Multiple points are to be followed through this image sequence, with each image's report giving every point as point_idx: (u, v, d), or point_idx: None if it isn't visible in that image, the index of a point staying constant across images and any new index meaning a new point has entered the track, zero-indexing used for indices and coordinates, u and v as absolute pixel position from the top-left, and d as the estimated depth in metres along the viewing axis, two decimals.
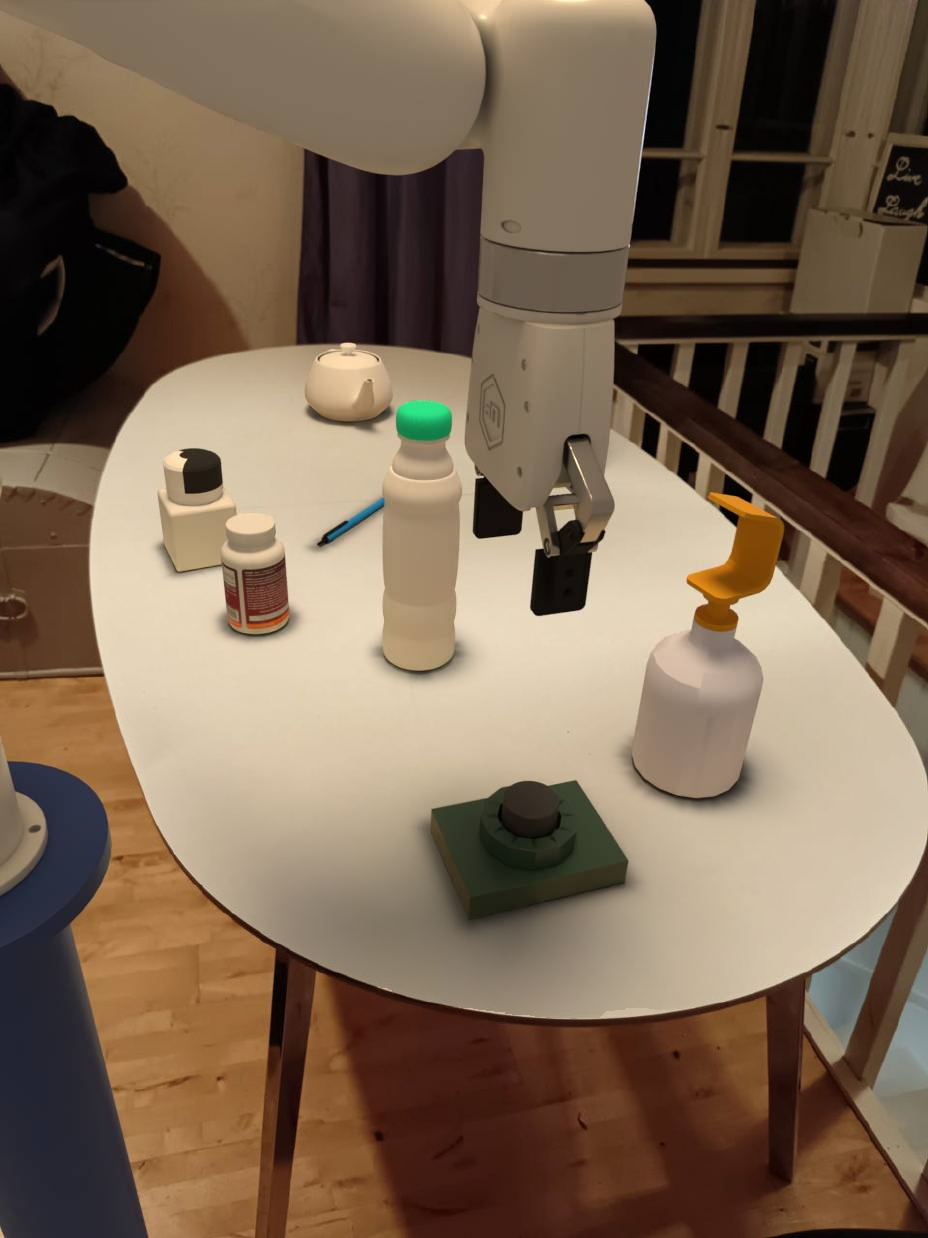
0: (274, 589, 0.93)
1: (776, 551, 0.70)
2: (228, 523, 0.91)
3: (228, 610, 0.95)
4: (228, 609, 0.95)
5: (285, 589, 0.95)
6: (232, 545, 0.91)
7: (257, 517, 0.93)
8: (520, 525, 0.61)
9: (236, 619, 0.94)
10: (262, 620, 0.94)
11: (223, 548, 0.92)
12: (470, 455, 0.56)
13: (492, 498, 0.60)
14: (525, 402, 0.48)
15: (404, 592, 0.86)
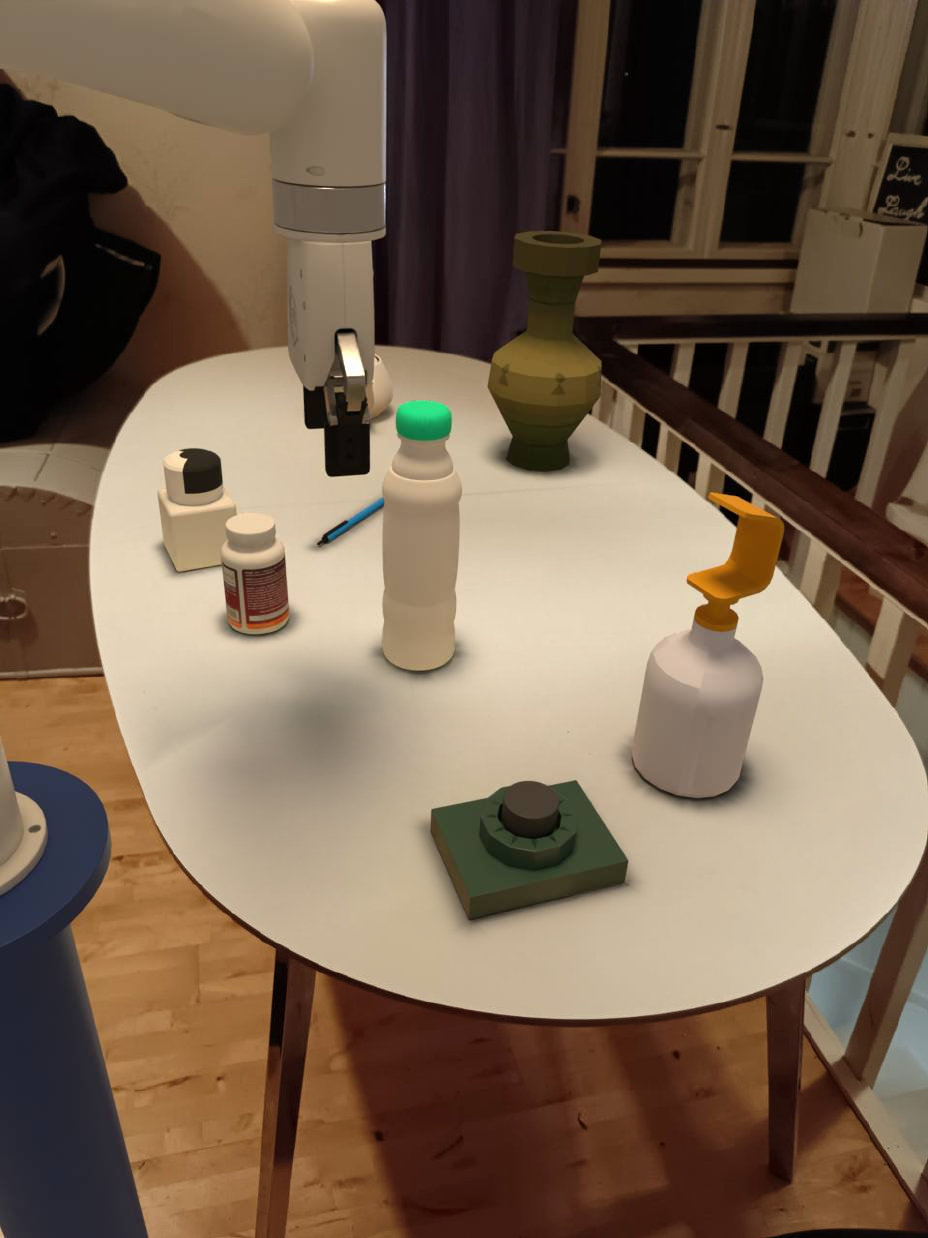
0: (274, 589, 0.93)
1: (776, 551, 0.70)
2: (228, 523, 0.91)
3: (228, 610, 0.95)
4: (228, 609, 0.95)
5: (285, 589, 0.95)
6: (232, 545, 0.91)
7: (257, 517, 0.93)
8: None
9: (236, 619, 0.94)
10: (262, 620, 0.94)
11: (223, 548, 0.92)
12: (289, 355, 0.72)
13: (316, 395, 0.75)
14: (303, 302, 0.63)
15: (404, 592, 0.86)
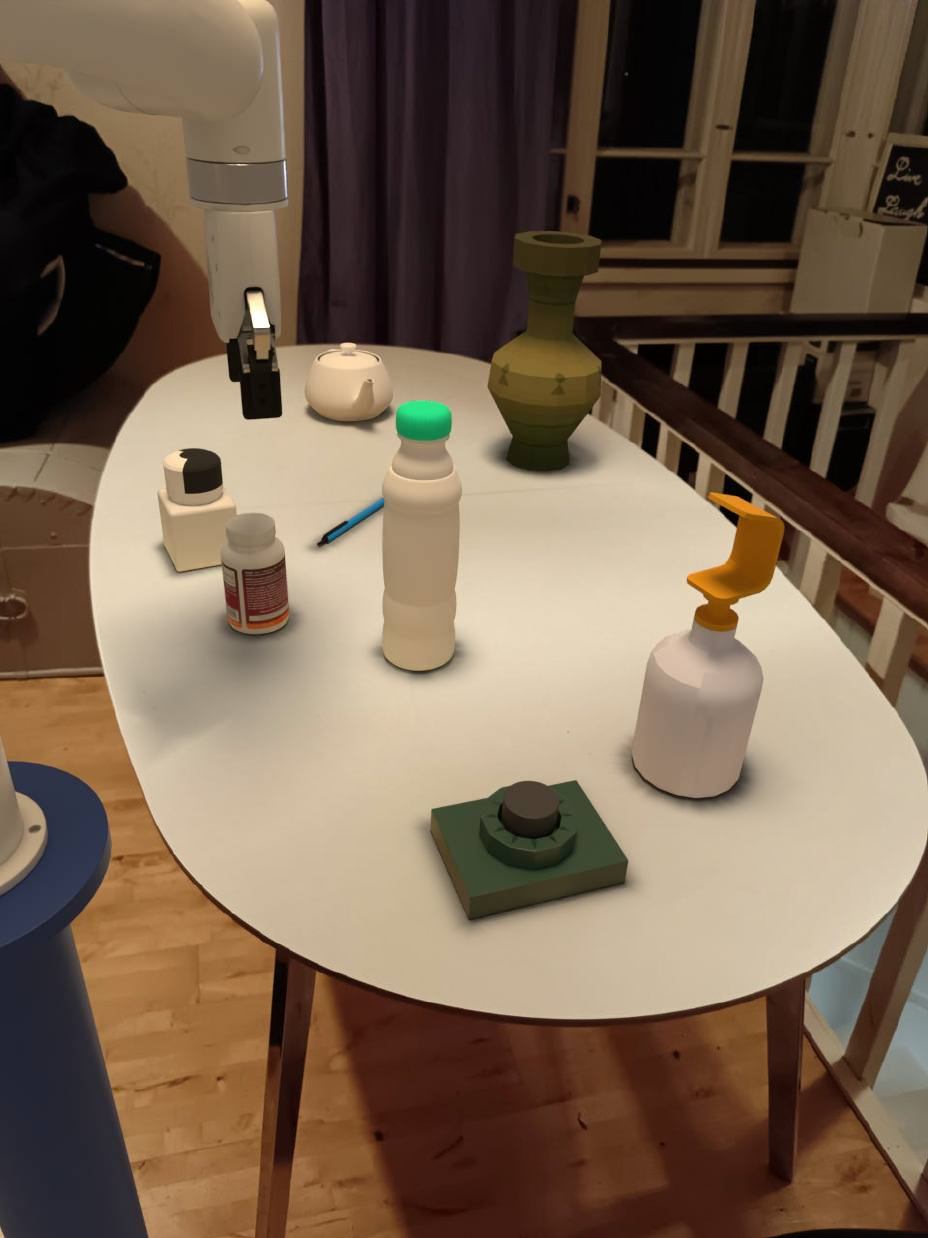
0: (274, 589, 0.93)
1: (776, 551, 0.70)
2: (228, 523, 0.91)
3: (228, 610, 0.95)
4: (228, 609, 0.95)
5: (285, 589, 0.95)
6: (231, 545, 0.91)
7: (256, 517, 0.93)
8: None
9: (236, 619, 0.94)
10: (262, 620, 0.94)
11: (223, 548, 0.92)
12: (211, 315, 0.81)
13: (238, 351, 0.85)
14: (216, 264, 0.73)
15: (404, 592, 0.86)
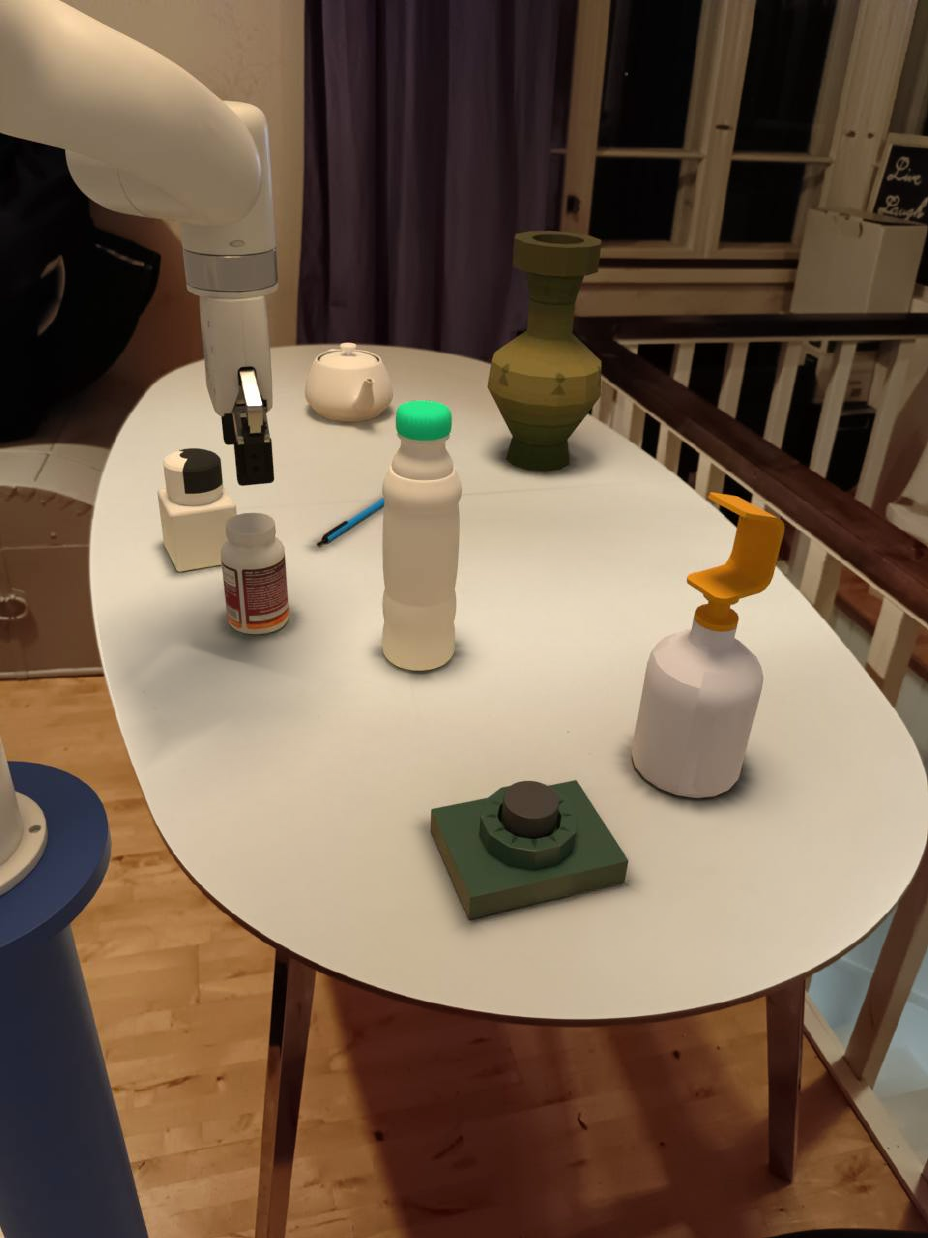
0: (274, 589, 0.93)
1: (776, 551, 0.70)
2: (228, 523, 0.91)
3: (228, 610, 0.95)
4: (228, 609, 0.95)
5: (285, 589, 0.95)
6: (232, 545, 0.91)
7: (257, 517, 0.93)
8: None
9: (236, 619, 0.94)
10: (262, 620, 0.94)
11: (223, 548, 0.92)
12: (206, 385, 0.87)
13: (232, 416, 0.90)
14: (211, 346, 0.78)
15: (404, 592, 0.86)
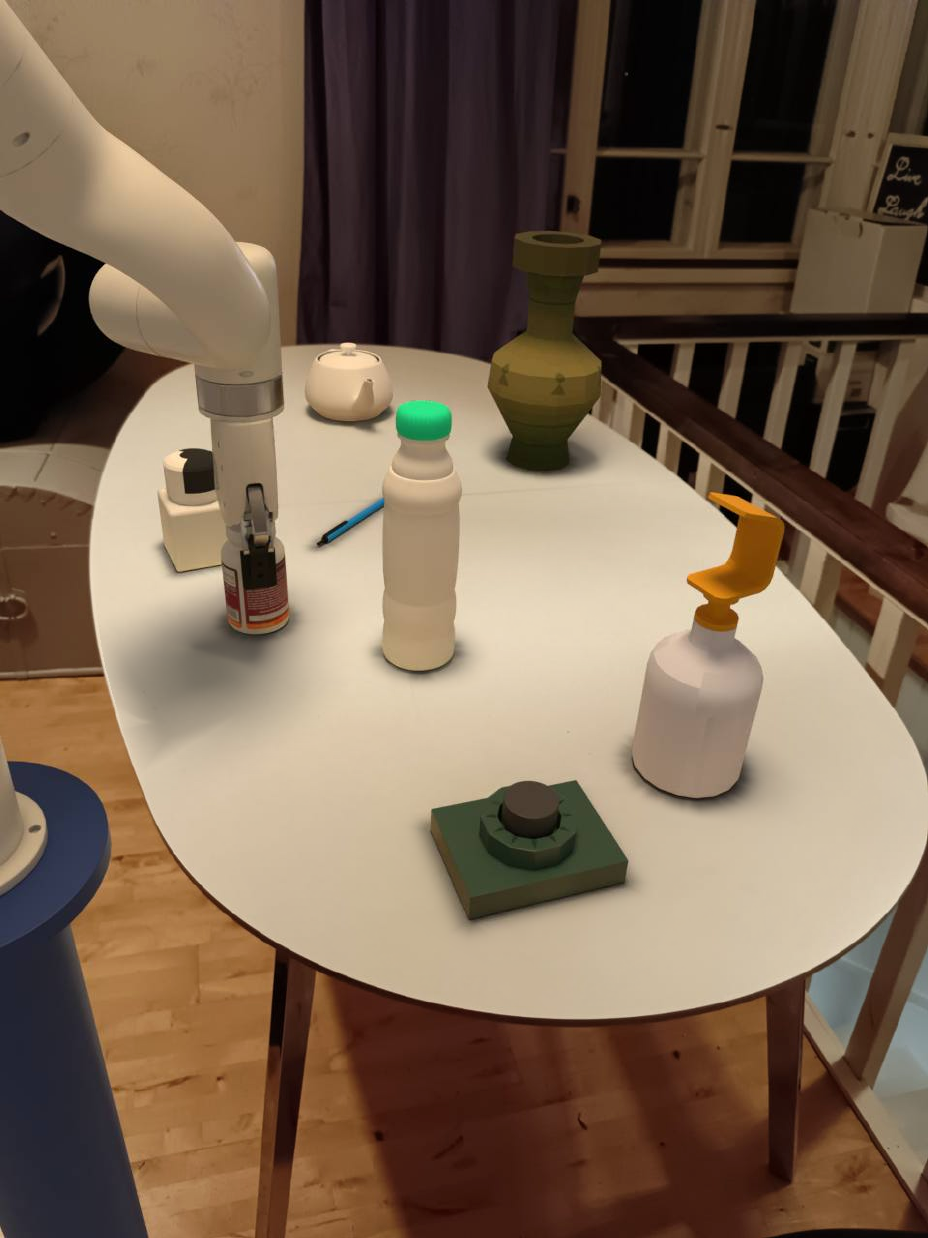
0: (274, 589, 0.93)
1: (776, 551, 0.70)
2: None
3: (228, 610, 0.95)
4: (228, 609, 0.95)
5: (285, 589, 0.95)
6: (232, 545, 0.91)
7: None
8: None
9: (236, 619, 0.94)
10: (262, 620, 0.94)
11: (223, 548, 0.92)
12: None
13: None
14: (221, 465, 0.84)
15: (404, 592, 0.86)
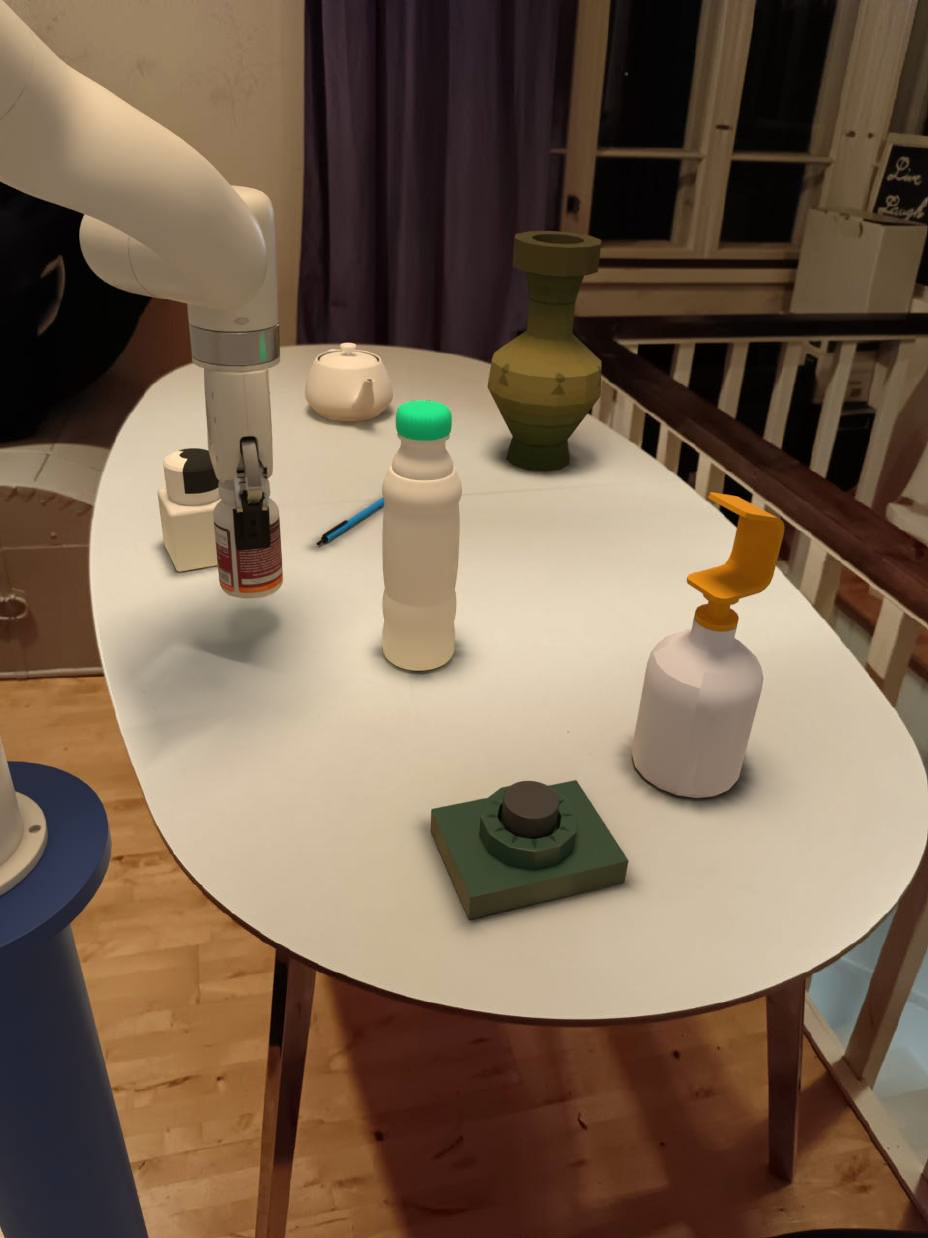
0: (268, 552, 0.90)
1: (776, 551, 0.70)
2: (221, 482, 0.88)
3: (220, 573, 0.92)
4: (220, 572, 0.92)
5: (279, 553, 0.92)
6: (224, 505, 0.89)
7: None
8: None
9: (228, 583, 0.91)
10: (255, 583, 0.91)
11: (216, 508, 0.89)
12: None
13: None
14: (214, 417, 0.81)
15: (404, 592, 0.86)
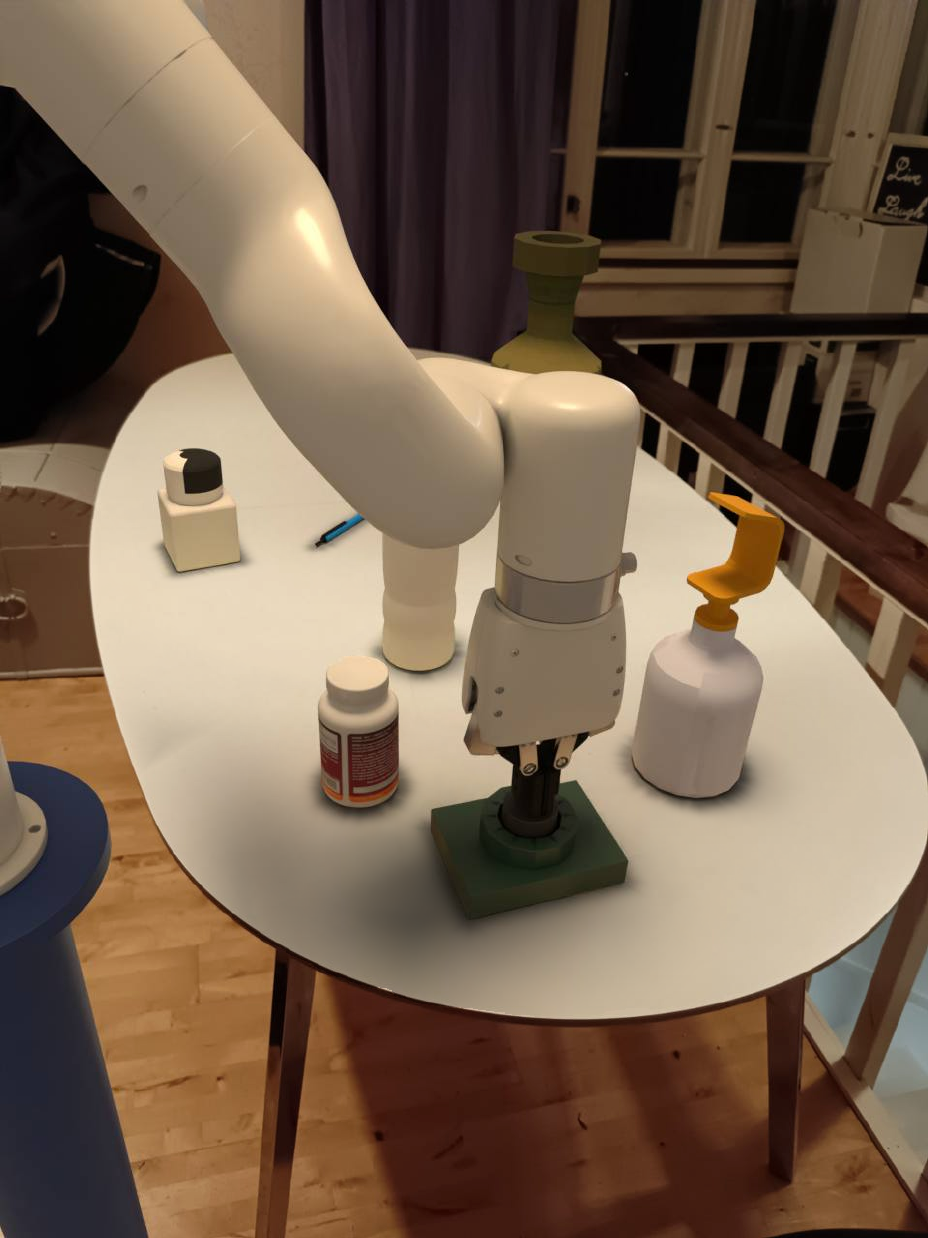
0: (386, 754, 0.73)
1: (776, 551, 0.70)
2: (329, 674, 0.71)
3: (325, 777, 0.74)
4: (325, 776, 0.74)
5: (397, 750, 0.74)
6: (334, 701, 0.71)
7: (364, 663, 0.72)
8: (543, 808, 0.67)
9: (336, 790, 0.74)
10: (369, 792, 0.73)
11: (322, 704, 0.72)
12: None
13: None
14: None
15: (404, 592, 0.86)
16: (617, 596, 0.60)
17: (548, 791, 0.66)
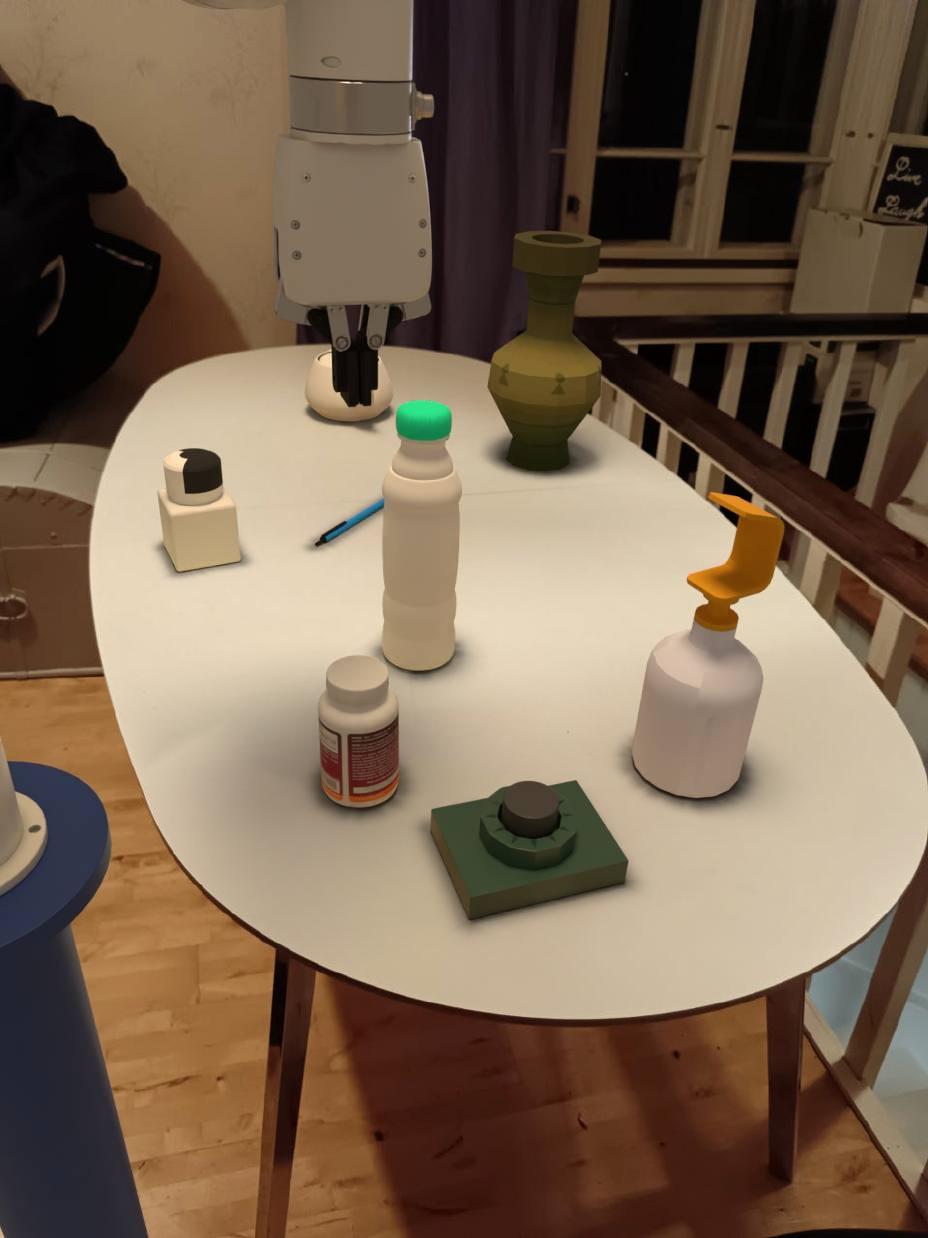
0: (386, 754, 0.73)
1: (776, 551, 0.70)
2: (329, 674, 0.71)
3: (325, 777, 0.74)
4: (325, 776, 0.74)
5: (397, 750, 0.74)
6: (334, 701, 0.71)
7: (364, 663, 0.72)
8: (361, 397, 0.67)
9: (336, 790, 0.74)
10: (369, 792, 0.73)
11: (322, 704, 0.72)
12: None
13: None
14: None
15: (404, 592, 0.86)
16: (416, 140, 0.60)
17: (364, 374, 0.66)
